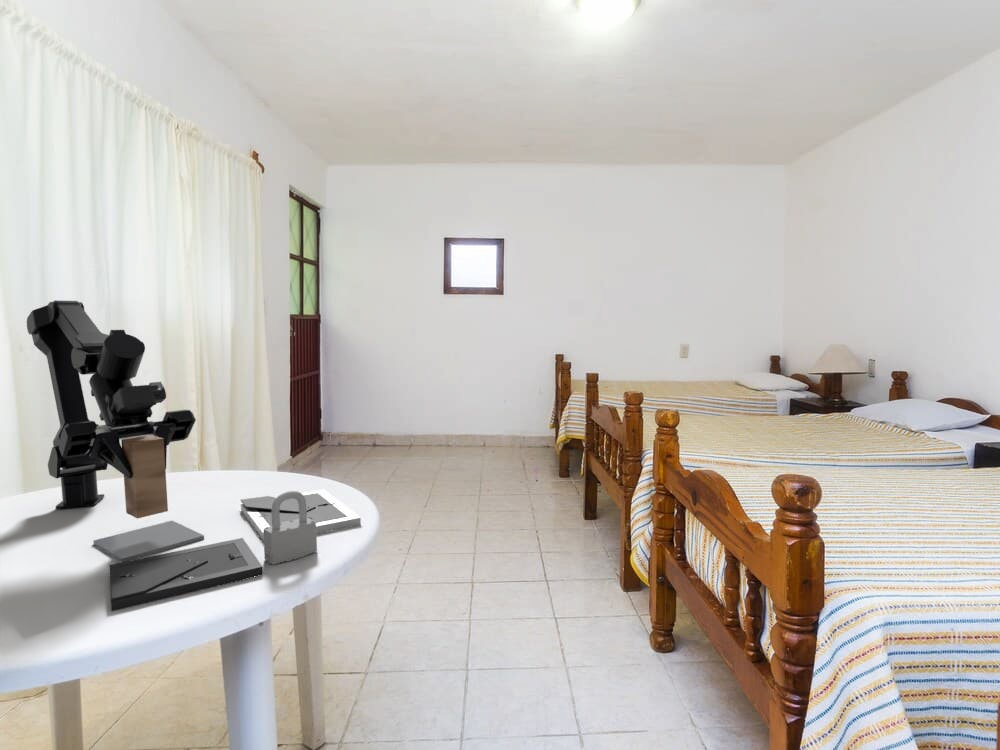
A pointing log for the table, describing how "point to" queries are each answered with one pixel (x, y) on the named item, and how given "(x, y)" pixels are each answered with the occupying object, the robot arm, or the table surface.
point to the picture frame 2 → (318, 508)
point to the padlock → (289, 532)
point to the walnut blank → (145, 476)
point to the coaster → (147, 540)
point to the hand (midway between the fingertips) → (148, 473)
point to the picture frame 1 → (180, 572)
